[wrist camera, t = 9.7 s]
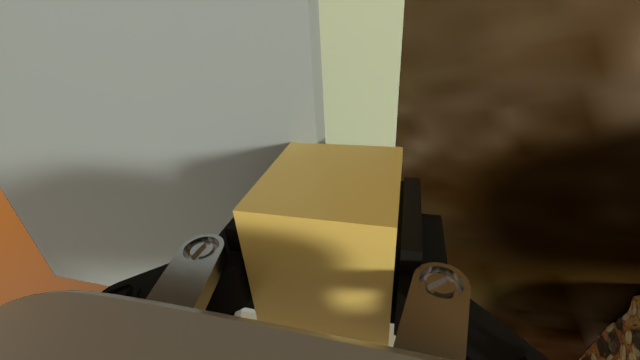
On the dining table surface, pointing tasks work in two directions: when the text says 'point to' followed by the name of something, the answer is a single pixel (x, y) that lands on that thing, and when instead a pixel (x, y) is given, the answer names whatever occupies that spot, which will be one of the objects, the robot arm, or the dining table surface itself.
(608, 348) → the bread
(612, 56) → the dining table surface
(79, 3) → the lid
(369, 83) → the mat
